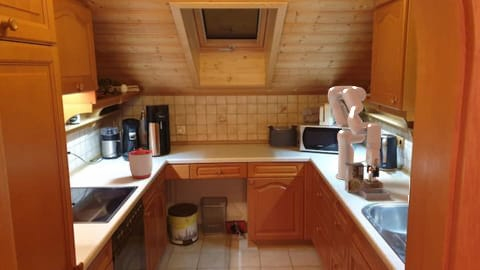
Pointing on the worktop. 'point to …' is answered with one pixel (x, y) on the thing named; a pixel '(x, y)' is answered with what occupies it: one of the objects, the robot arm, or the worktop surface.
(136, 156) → the citrus juicer
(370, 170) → the lock pin
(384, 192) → the dock cradle
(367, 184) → the mount block
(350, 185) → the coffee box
